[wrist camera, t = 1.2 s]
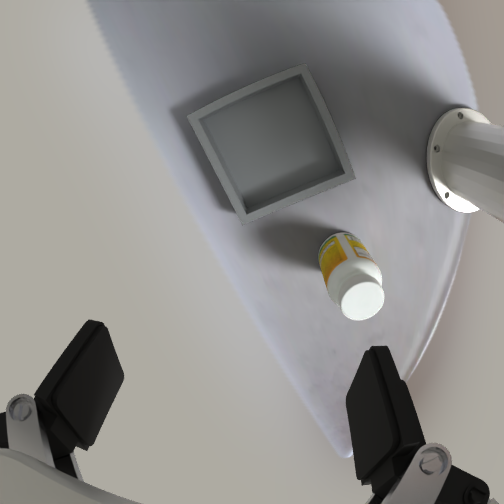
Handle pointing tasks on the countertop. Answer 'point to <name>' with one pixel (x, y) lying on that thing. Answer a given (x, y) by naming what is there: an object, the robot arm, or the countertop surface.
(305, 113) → the tray
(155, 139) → the countertop surface
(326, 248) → the supplement bottle
